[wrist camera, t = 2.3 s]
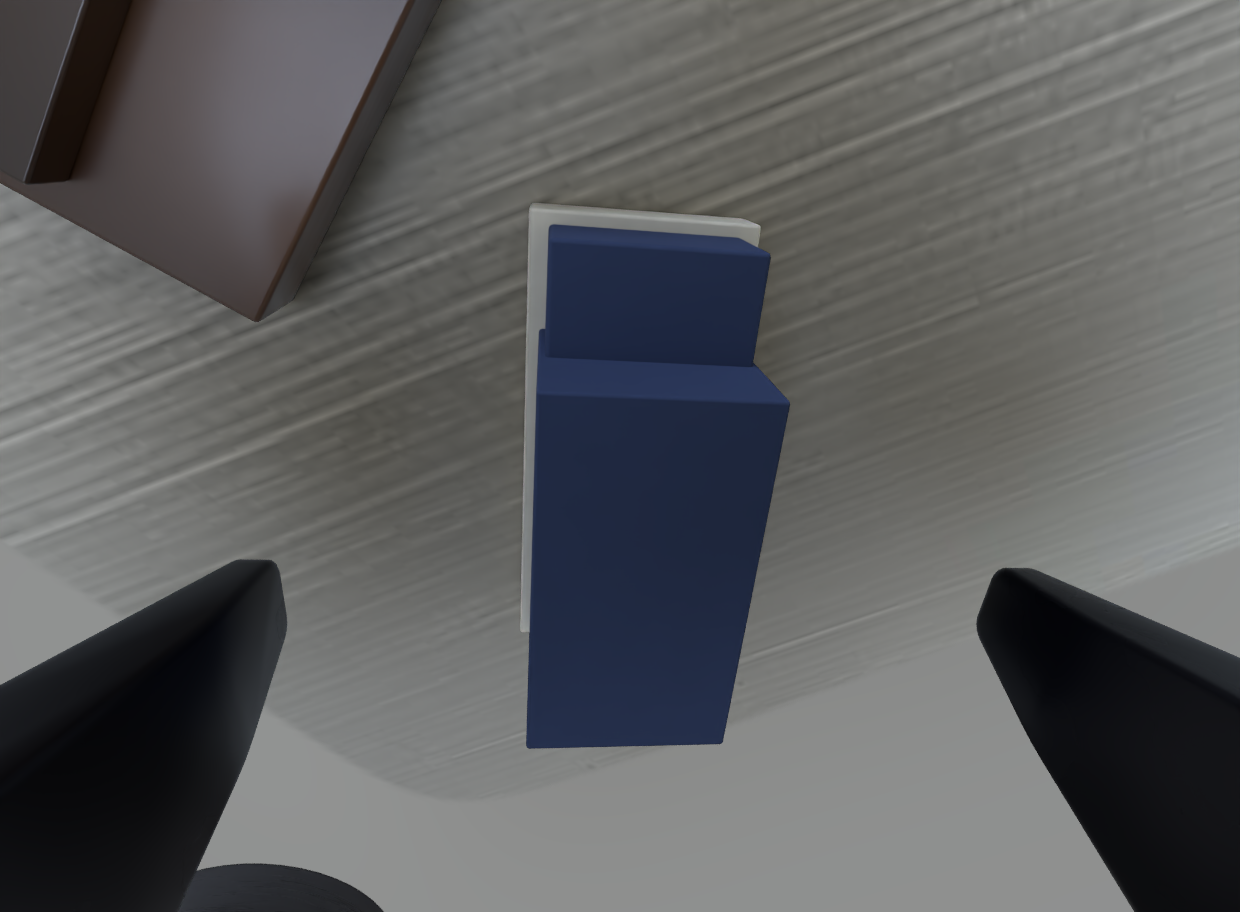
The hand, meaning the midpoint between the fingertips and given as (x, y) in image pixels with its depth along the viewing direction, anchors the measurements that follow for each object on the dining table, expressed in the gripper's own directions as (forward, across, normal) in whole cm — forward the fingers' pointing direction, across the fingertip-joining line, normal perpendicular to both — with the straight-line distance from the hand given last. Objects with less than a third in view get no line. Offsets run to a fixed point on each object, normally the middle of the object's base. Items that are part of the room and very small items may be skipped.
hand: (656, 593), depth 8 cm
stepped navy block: (+5, 0, 0) cm, 5 cm away
